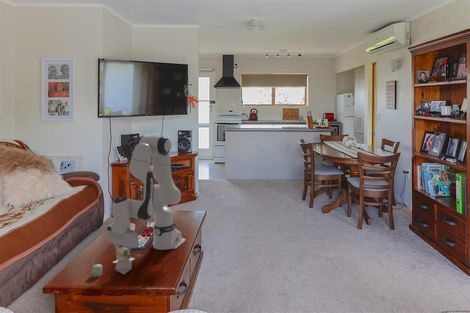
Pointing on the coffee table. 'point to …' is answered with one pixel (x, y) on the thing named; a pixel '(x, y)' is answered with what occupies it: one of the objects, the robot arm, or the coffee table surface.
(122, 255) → the birch block
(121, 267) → the die
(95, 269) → the pale green rounded lump
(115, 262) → the plan card
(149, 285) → the coffee table surface
